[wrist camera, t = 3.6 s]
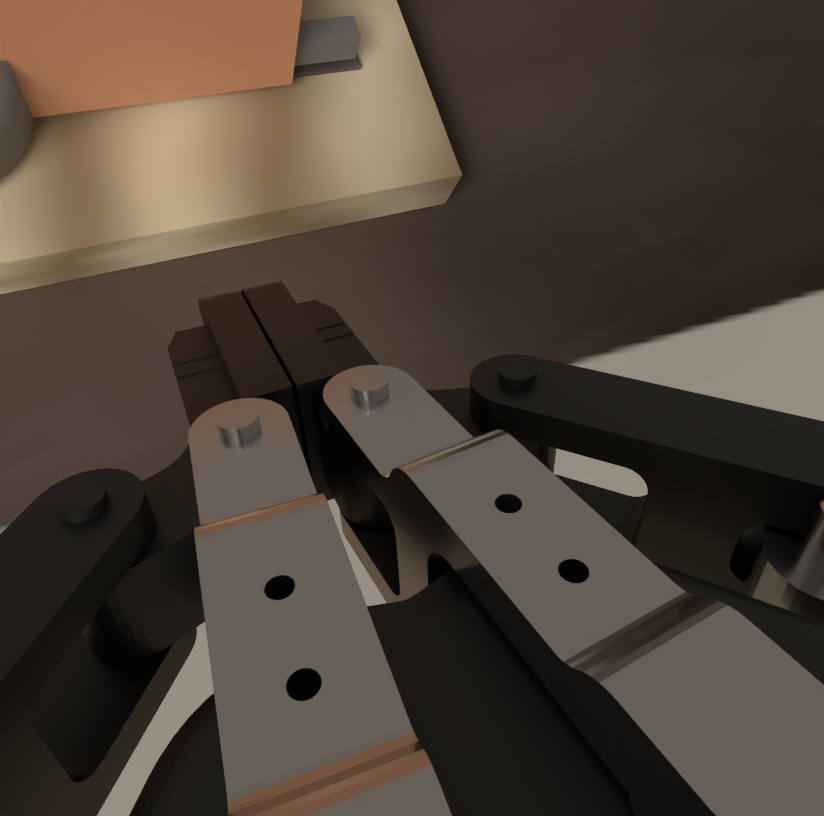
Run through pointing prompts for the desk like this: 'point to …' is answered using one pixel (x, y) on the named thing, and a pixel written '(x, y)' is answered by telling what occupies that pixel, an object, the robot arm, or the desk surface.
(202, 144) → the level stand
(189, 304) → the desk surface
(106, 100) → the orange grey panel fixture
